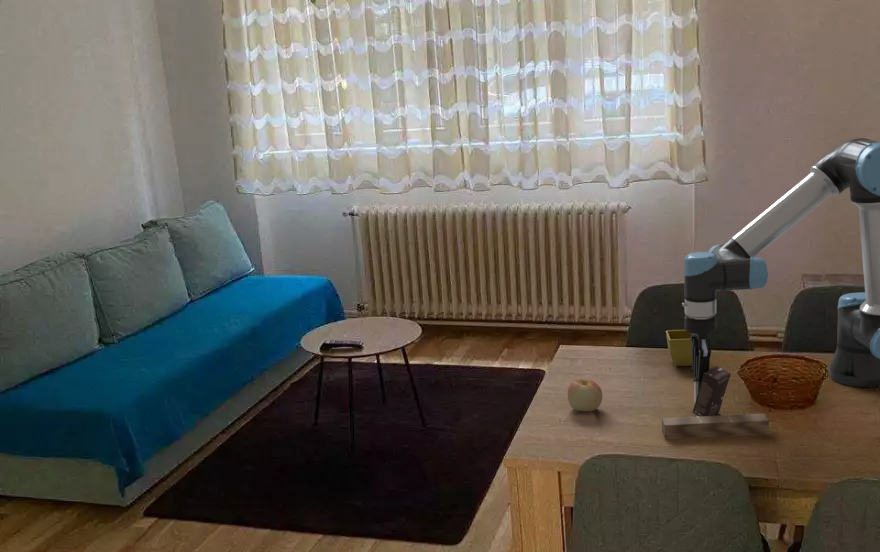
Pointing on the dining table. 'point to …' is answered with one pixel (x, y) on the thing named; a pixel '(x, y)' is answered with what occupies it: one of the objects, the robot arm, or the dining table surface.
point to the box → (711, 392)
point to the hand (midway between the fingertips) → (700, 403)
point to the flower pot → (679, 347)
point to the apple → (584, 395)
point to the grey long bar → (715, 426)
